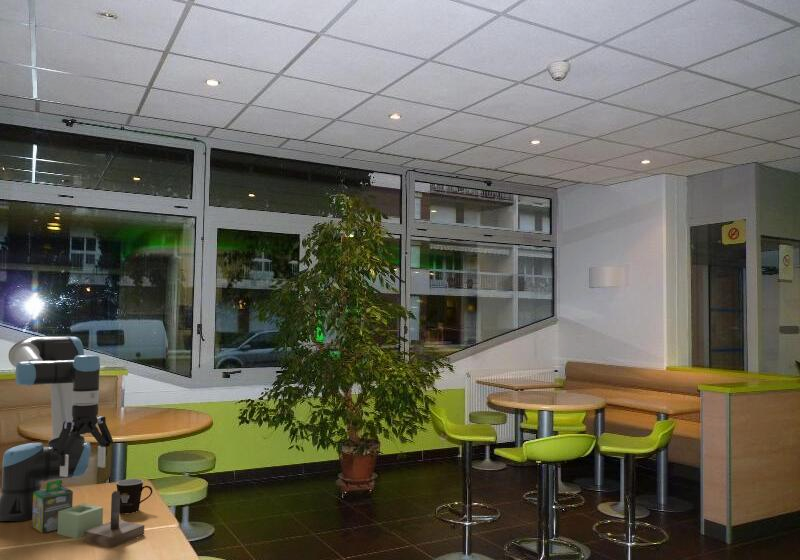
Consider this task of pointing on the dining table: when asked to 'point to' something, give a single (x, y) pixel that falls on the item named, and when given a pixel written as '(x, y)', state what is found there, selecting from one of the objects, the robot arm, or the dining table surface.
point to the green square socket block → (79, 520)
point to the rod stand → (114, 528)
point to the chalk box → (50, 506)
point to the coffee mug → (131, 494)
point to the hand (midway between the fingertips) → (83, 471)
